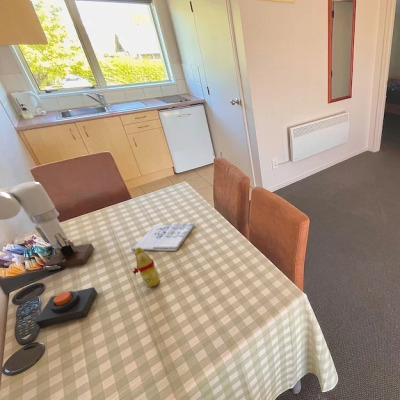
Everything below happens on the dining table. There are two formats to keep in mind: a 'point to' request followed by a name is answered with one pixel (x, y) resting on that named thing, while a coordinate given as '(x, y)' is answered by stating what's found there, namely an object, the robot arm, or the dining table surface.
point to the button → (62, 298)
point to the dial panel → (72, 257)
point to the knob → (61, 252)
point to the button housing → (67, 308)
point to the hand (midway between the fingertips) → (68, 252)
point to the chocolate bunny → (146, 268)
